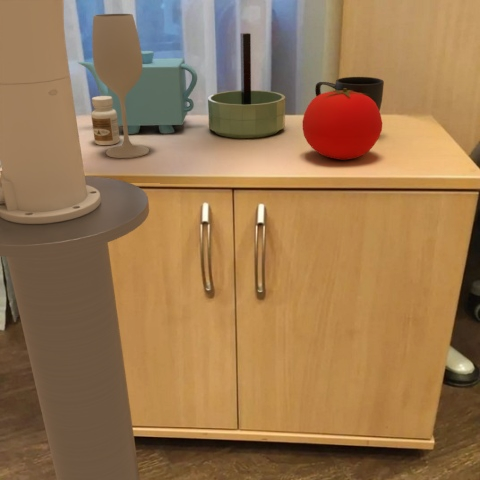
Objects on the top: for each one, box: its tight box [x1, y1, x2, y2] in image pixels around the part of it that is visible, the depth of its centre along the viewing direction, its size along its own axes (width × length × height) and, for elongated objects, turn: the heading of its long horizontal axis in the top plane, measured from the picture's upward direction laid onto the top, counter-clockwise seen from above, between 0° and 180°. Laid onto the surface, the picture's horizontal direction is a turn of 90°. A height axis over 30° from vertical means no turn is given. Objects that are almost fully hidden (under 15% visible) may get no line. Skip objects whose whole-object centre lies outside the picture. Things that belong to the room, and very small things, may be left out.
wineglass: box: [91, 13, 150, 159], centre depth 97 cm, size 8×8×21 cm
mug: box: [314, 76, 385, 113], centre depth 107 cm, size 8×12×10 cm
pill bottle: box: [90, 95, 121, 146], centre depth 106 cm, size 4×4×8 cm
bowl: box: [207, 89, 286, 139], centre depth 113 cm, size 14×14×6 cm
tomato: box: [301, 88, 383, 161], centre depth 95 cm, size 11×12×10 cm
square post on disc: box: [240, 32, 252, 105], centre depth 110 cm, size 4×4×16 cm
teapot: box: [77, 50, 198, 135], centre depth 114 cm, size 22×11×14 cm, turn 89°
